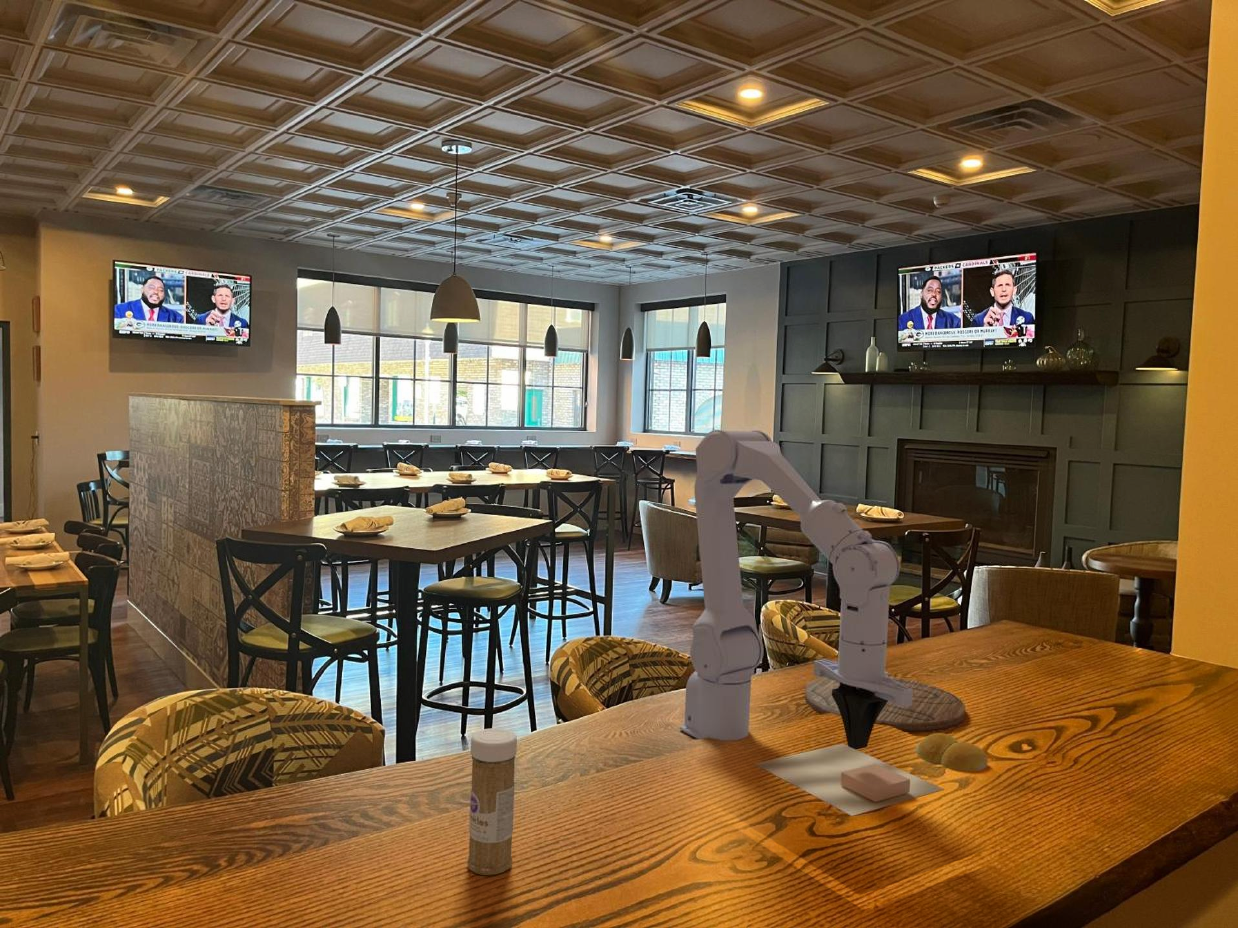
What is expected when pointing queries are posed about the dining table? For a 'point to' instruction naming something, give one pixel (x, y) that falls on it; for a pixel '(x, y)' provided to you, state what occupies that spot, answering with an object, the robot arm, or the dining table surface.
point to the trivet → (924, 714)
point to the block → (875, 782)
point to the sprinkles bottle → (492, 801)
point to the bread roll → (951, 753)
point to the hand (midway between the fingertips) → (857, 746)
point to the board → (839, 777)
